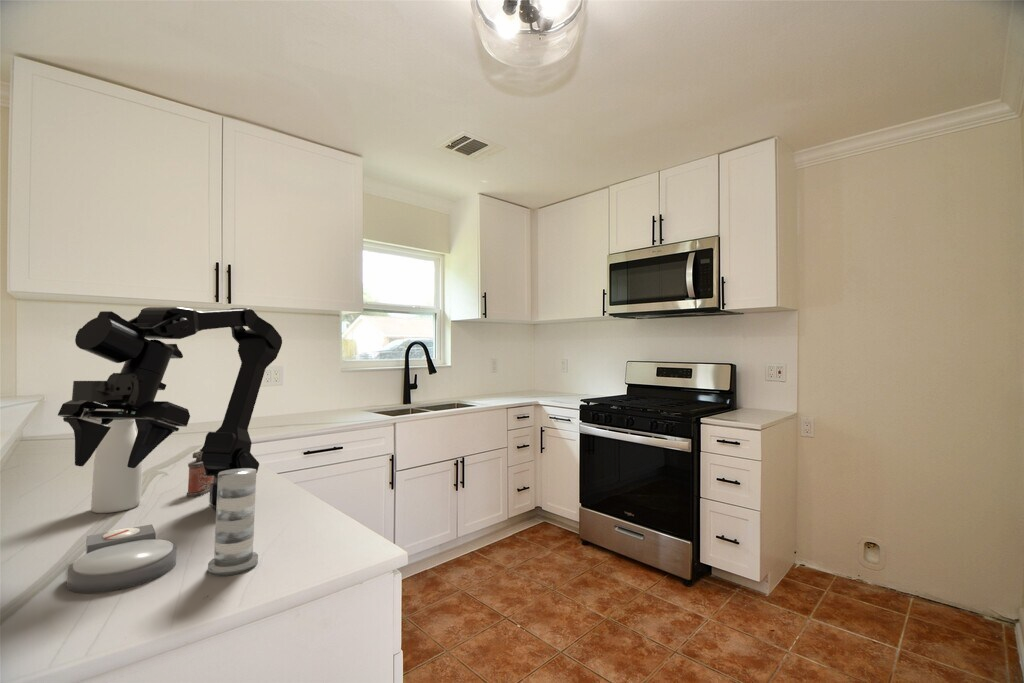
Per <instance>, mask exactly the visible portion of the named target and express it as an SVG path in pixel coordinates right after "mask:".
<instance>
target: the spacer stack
mask: <svg viewBox="0 0 1024 683" xmlns="http://www.w3.org/2000/svg"><path fill="white" fill-rule="evenodd" d="M256 488H257V473H256V469H252V468H239V469H230V470H225V471H222V472H219V473H218V485H217V507H216V509H215V513H216V514H215V528H214V529H215V530H214V533H215V534H214V553H213V554H214V555H213V558H212V559H210V561H209V562H207V573H208V574H209V575H210V576H213V577H229V576H230V577H231V576H235V575H239V574H242V573H246V572H249V571H251V570H252V569H254V568H255V567H256V566H257V565H258V563H259V562H258V561H259V554H258V553H257V552H255V551H254V537H255V512H256V511H255V510H256V492H257V491H256Z"/></svg>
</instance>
